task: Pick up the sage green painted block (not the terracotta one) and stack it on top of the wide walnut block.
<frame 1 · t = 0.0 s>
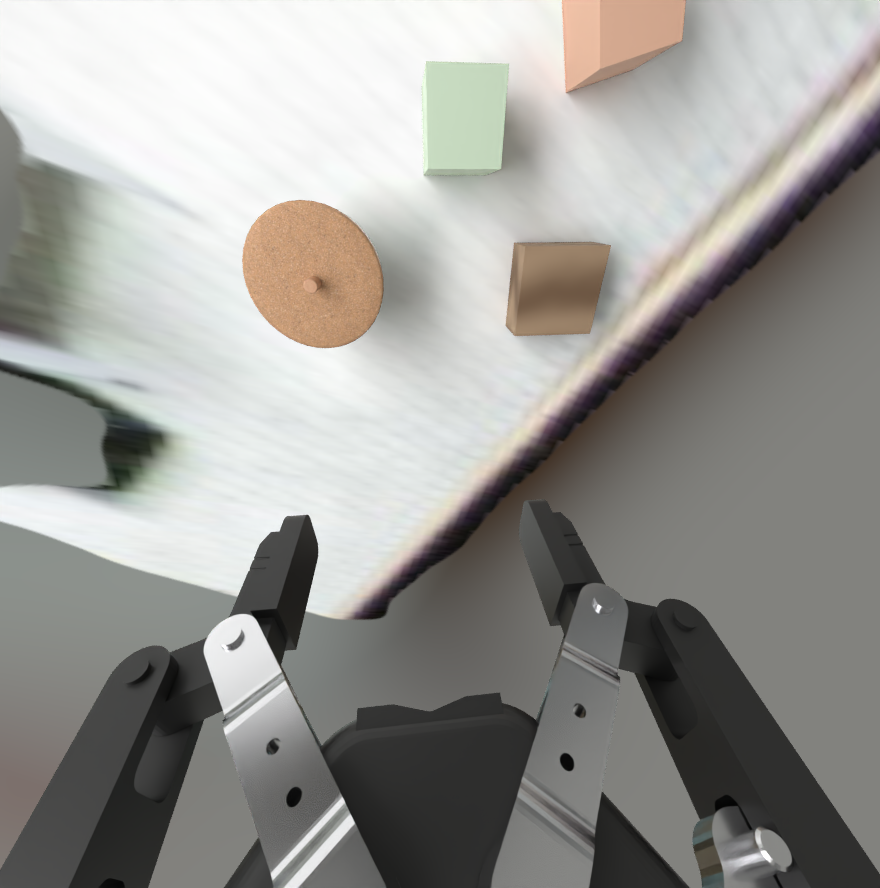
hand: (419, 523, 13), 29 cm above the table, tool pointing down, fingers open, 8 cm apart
lidded jar: (331, 268, 34), on the table
terracotta block: (598, 32, 27), on the table
walnut base: (545, 285, 37), on the table
sage block: (455, 134, 29), on the table
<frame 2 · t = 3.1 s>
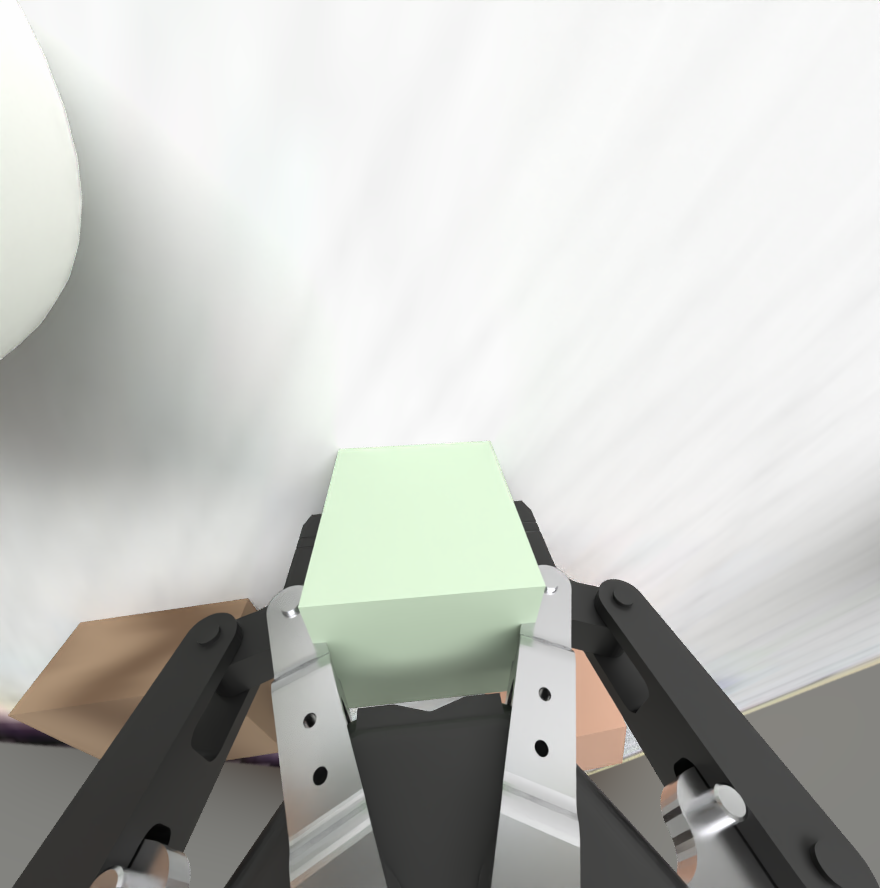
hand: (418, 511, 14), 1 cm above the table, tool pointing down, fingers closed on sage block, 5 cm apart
terracotta block: (525, 628, 21), on the table
walnut base: (207, 645, 19), on the table
sage block: (418, 500, 14), on the table, touching gripper
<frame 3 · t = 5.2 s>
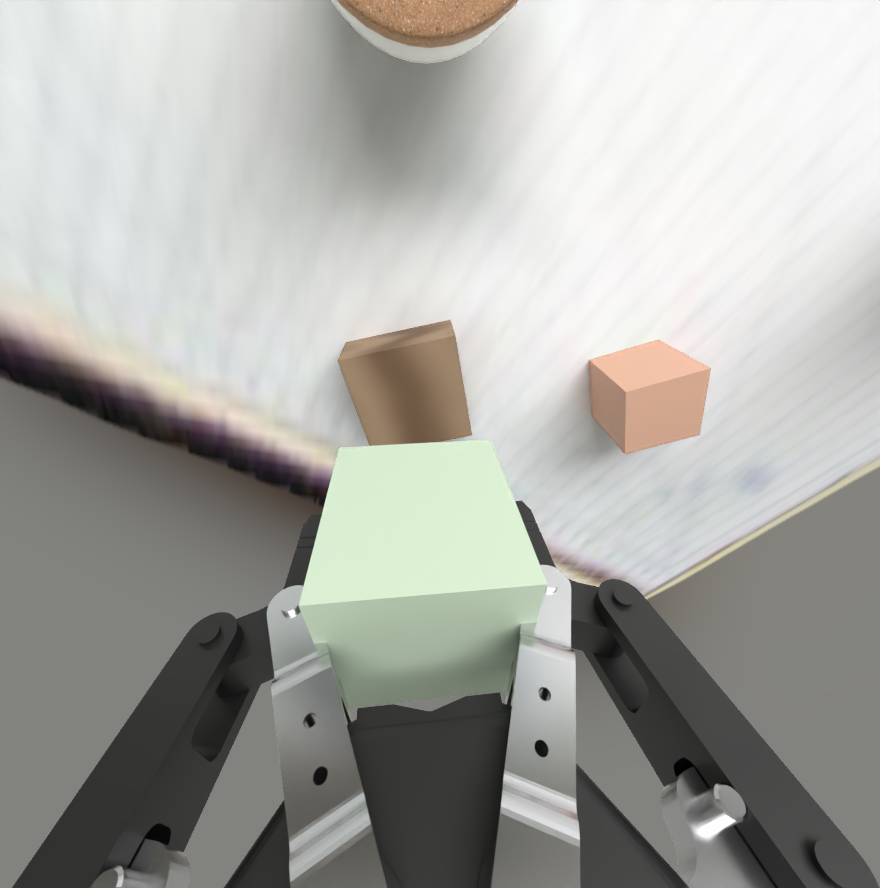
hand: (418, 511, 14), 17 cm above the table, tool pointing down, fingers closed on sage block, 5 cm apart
terracotta block: (622, 379, 30), on the table
walnut base: (410, 378, 29), on the table
sage block: (419, 499, 14), point 16 cm above the table, touching gripper
when the fingers open (6 cm above the table, at t = 7.7 s): sage block drops 1 cm, point 4 cm above the table.
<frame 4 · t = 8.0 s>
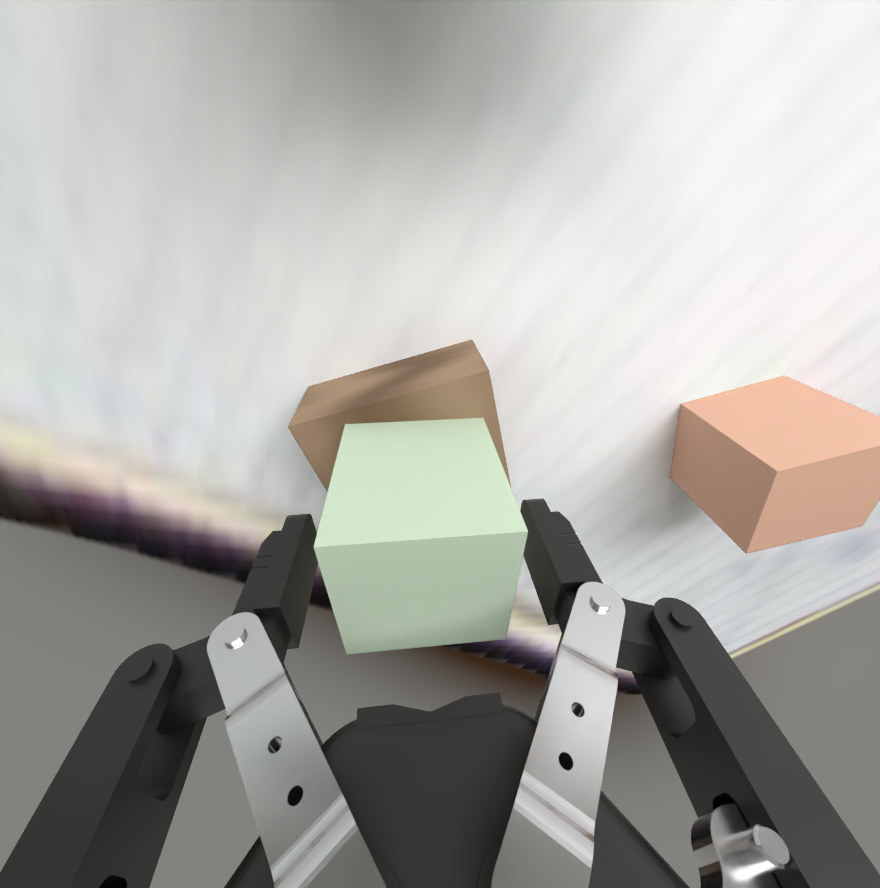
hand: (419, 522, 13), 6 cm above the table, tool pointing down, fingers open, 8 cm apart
terracotta block: (721, 430, 20), on the table
walnut base: (413, 429, 19), on the table
sage block: (417, 474, 15), point 4 cm above the table
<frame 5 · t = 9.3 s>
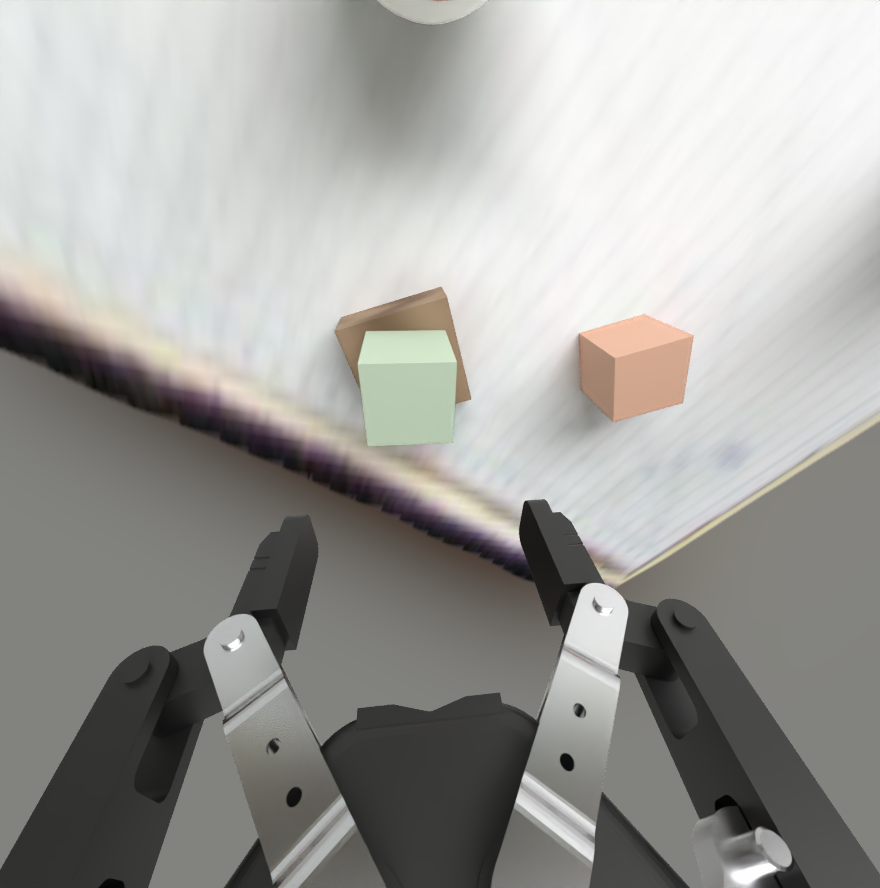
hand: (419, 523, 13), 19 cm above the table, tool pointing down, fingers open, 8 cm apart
terracotta block: (610, 353, 31), on the table
walnut base: (407, 349, 29), on the table
sage block: (407, 368, 26), point 4 cm above the table
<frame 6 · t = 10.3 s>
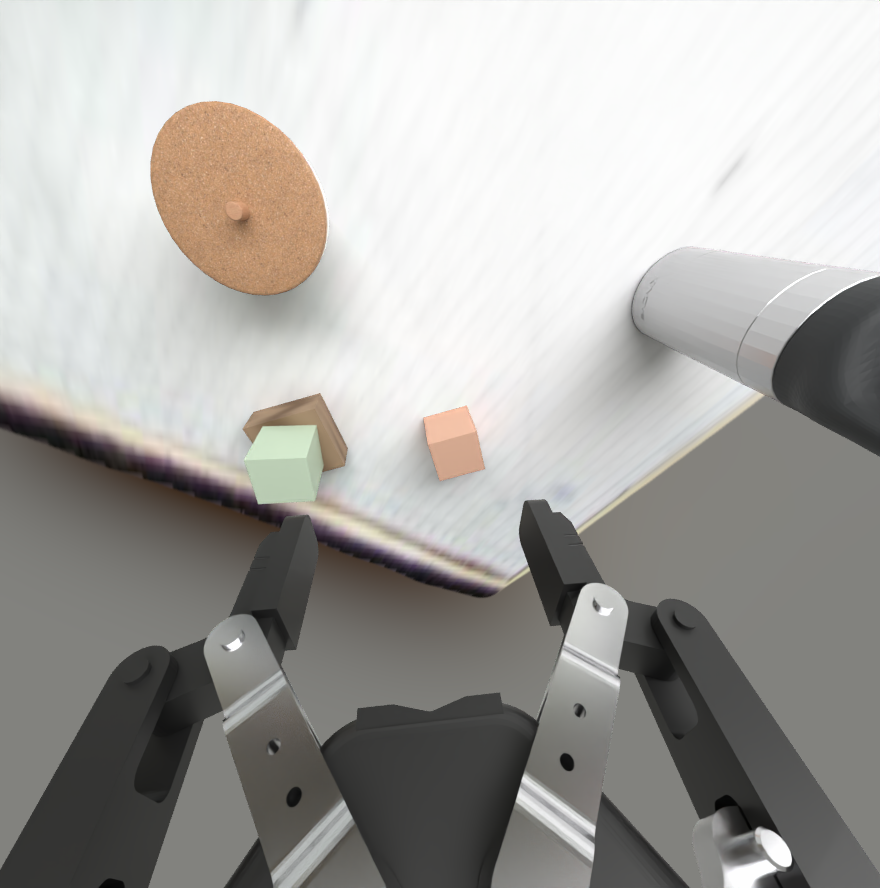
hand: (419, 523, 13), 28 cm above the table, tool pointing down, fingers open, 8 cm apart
lidded jar: (274, 209, 30), on the table
terracotta block: (449, 429, 44), on the table
walnut base: (303, 429, 42), on the table
sage block: (294, 446, 39), point 4 cm above the table
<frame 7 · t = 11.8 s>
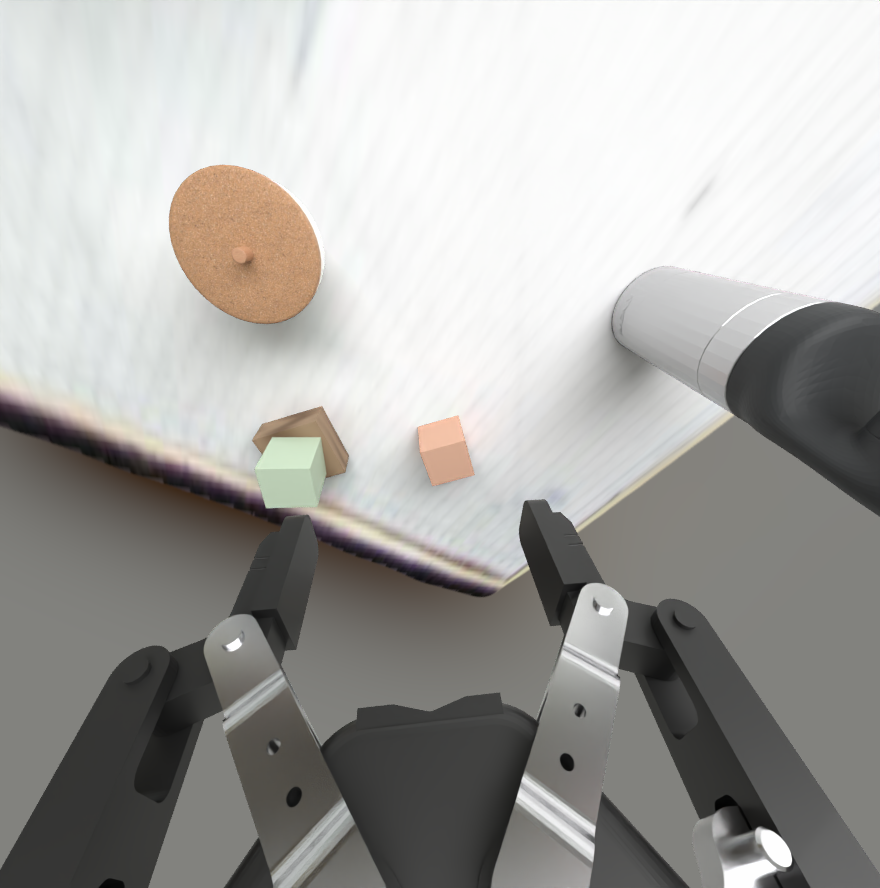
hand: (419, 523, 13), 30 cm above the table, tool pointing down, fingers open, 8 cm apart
lidded jar: (277, 244, 33), on the table
terracotta block: (443, 437, 47), on the table
walnut base: (307, 439, 46), on the table
sage block: (300, 456, 42), point 4 cm above the table
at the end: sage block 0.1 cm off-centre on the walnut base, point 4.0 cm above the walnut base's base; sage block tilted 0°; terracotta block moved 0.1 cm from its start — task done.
